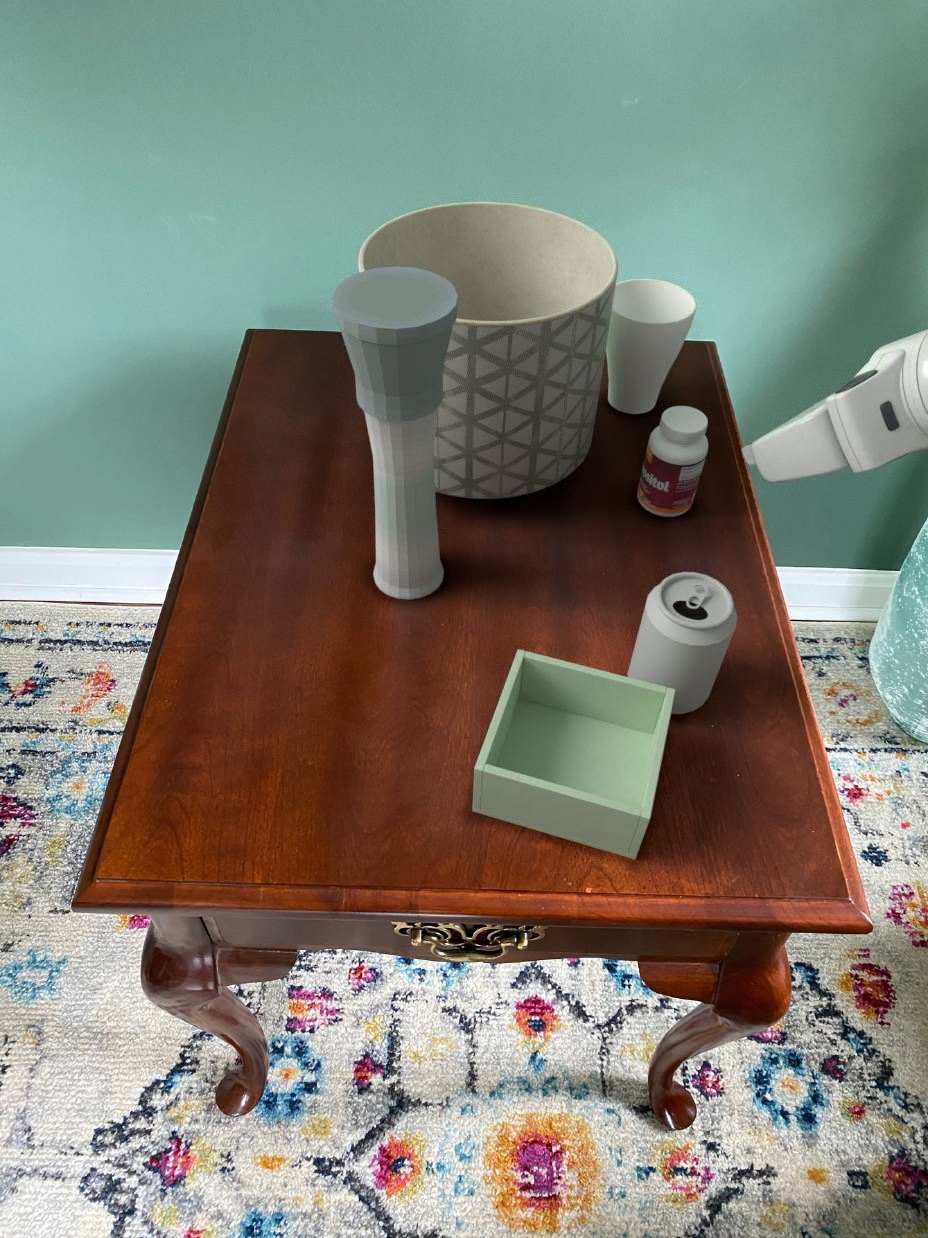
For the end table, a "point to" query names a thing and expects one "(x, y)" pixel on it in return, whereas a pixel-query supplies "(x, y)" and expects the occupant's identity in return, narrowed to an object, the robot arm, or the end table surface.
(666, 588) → the can
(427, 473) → the grey tall flared cylinder
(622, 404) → the cup
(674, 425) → the pill bottle
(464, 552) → the end table surface
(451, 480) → the planter
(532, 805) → the bin
